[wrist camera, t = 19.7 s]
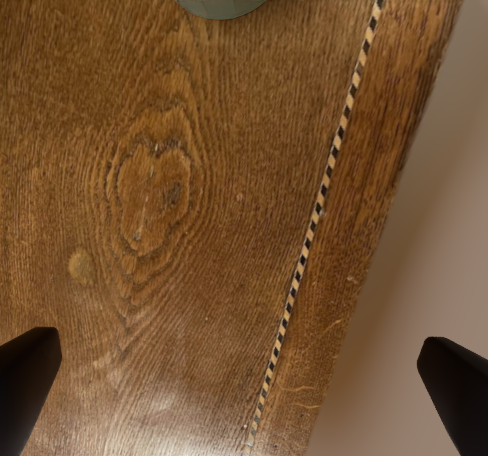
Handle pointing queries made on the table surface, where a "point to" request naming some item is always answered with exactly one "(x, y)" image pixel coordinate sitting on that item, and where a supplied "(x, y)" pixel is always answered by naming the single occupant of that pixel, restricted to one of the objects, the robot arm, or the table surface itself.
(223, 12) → the tumbler
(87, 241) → the table surface
